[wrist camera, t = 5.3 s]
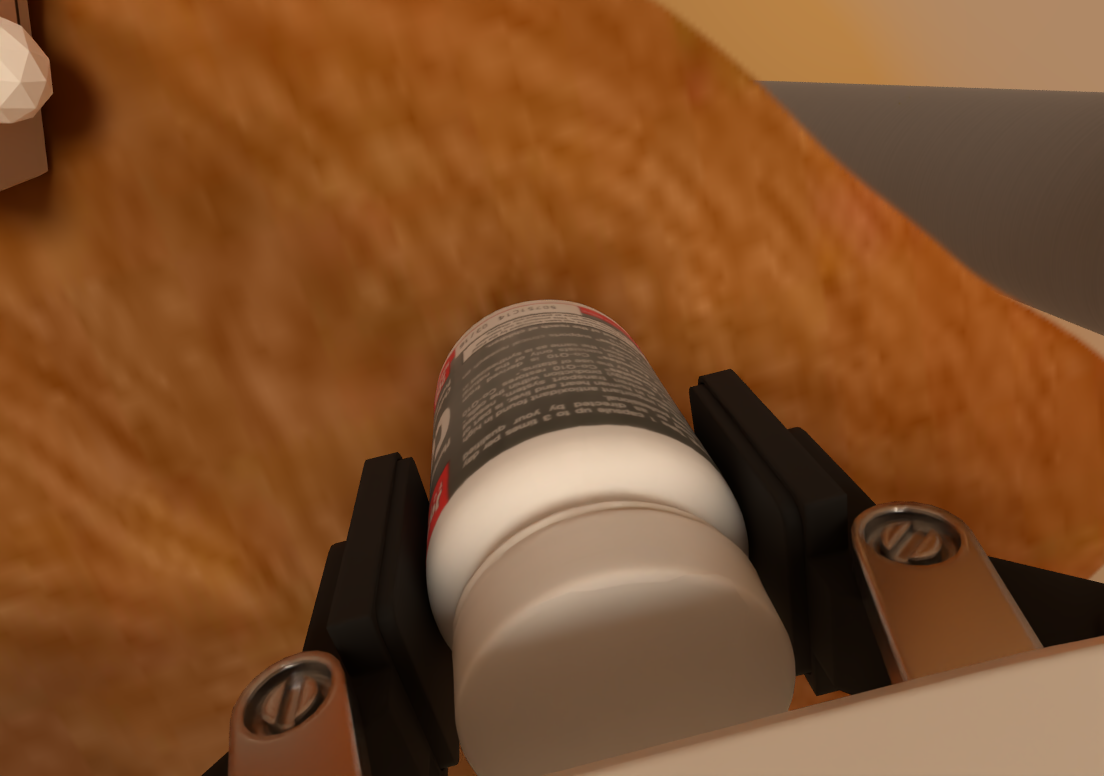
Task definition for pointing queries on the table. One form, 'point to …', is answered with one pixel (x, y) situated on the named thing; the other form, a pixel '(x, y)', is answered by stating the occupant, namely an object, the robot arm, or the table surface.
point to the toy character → (21, 97)
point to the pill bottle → (586, 553)
